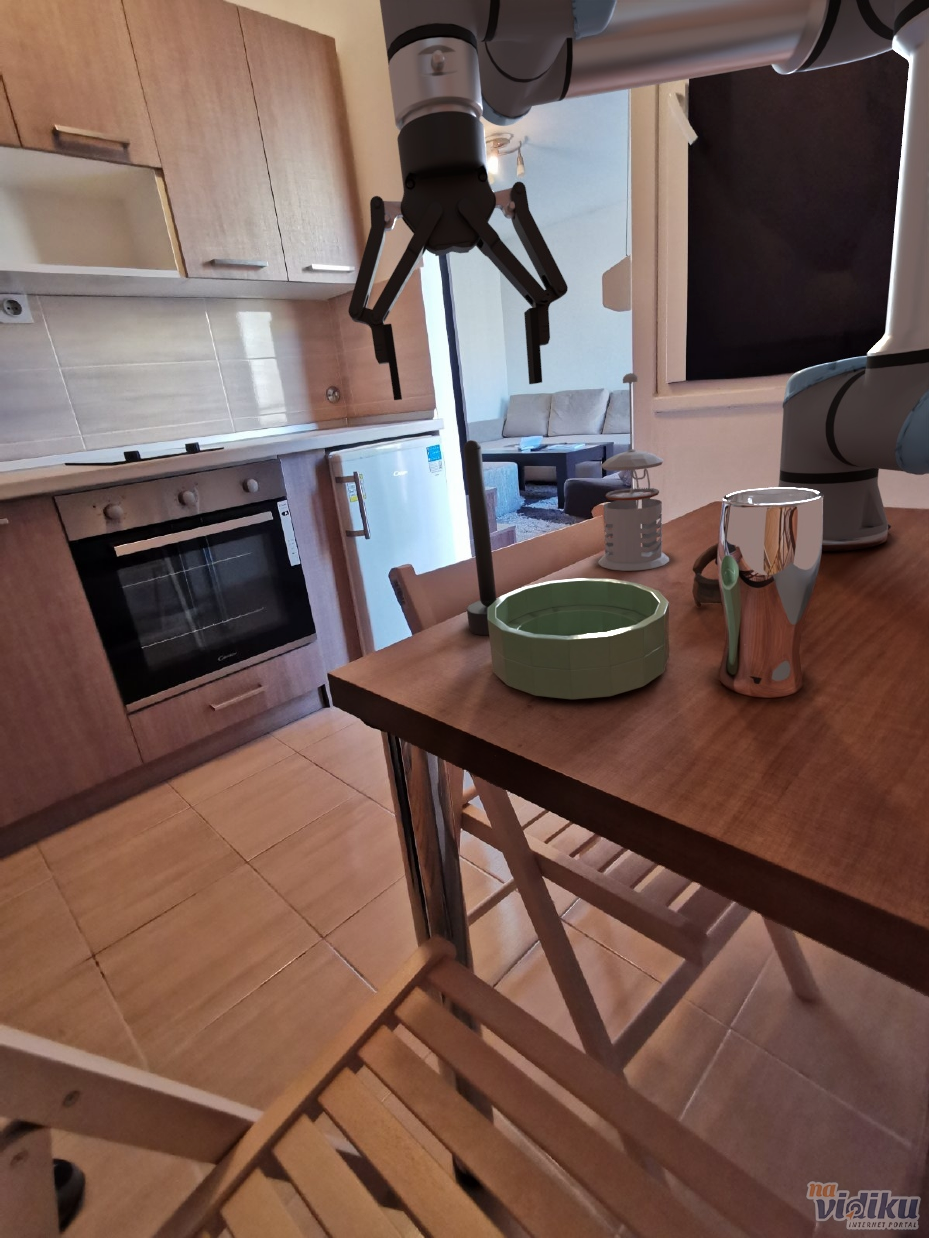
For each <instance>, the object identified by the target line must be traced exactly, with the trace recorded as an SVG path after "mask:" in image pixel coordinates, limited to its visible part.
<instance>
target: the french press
mask: <svg viewBox="0 0 929 1238" xmlns="http://www.w3.org/2000/svg"><path fill="white" fill-rule="evenodd" d="M633 383H638V375H637V374H636V373H634V372H629V373H626V374H625V375H624V376H623V378H622V384H628V387H629V391H628V394H629V434H630V435H629V442H630V443H629V444H630V446H629V447H630V448H629V449H628V450H627V451H623V452H621V453H617V454H615V455H612V456H611V457H609V458H607V459H606V460H605V461H604V462H603V463H602V464H601V465H600V467H601V468H602V469H603V470H605V471H612V472H621V471H626V472H627V471H630V488H620V489H615V490H613V491H612V490H611V491H608V492H607V493H606V494H605V498H606V499H608V500H611V501H610V502H607V503H605V504H603V525H604V527H603V528H604V531H603V532H604V533H605V534H604V541H605V542H604V555H602V556H601V558H600V559H599V560H598V563H597V564H598V565H599V566H601V567H602V568H605V569H608V570H613V571H622V572H623V571H624V572H625V571H626V572H627V571H628V572H629V571H630V572H631V571H645V570H652V569H656V568H660V567H663V566H665V565H666V564H668V563H669V562H670V558H669V556H668V555H666V554H665V553H664V552H663V550H662V549H663V523H662V521H663V512H662V511H663V501H661V500H659V499H655V498H654V497H657V496H658V495H659V494H660V489H657V488H654V487H652V488H651V481H650V475H649V470H648V469H651V468H656V467H657V468H658V467H659V466H661V465H662V464H663V462H664V459H663V458H661V457H660V456H658V455H657V454H654V453H651V452H648V451H643V450H636V449H634V448H633V425H632V423H633V422H632V420H633V419H632V384H633ZM637 470H643V475H642V476H640V477H638V474H637ZM645 477H646V478H647V484H648V485H647V487H643V488H641V487H639V480H644V479H645ZM633 480H635V482H636V487H633V485H634V483H633ZM639 501H641V508H639ZM605 524H606V525H605Z"/></svg>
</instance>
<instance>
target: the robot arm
mask: <svg viewBox="0 0 929 1238" xmlns="http://www.w3.org/2000/svg"><path fill="white" fill-rule="evenodd" d="M379 4H380V5H379V6H380V13H381V20H382V27H383V28H382V29H383V35H384V42H385V49H386V57H387V64H388V76H389V84H390V93H391V100H392V108H393V116H394V124H395V127H396V129H397V130H398V131H399V133H398V135H397V139H396V140H397V149H398V156H399V165H400V172H401V173H400V174H401V180H402V189H403V195H402V199H401V201H395V200H384V199H383V198H382V197H381V196H379V195H374V196H373V197H371V199H370V201H369V210H370V211H369V212H370V229H369V232H368V236H367V240H366V243H365V247H364V251H363V255H362V258H361V262H360V265H359V269H358V273H357V277H356V280H355V284H354V287H353V291H352V295H351V298H350V302H349V306H348V315H349V317H350V319H351V320H352V321H353V322H355V323H360V324H363V325H366V326H368V327H369V328H370V330H371V337H372V343H373V349H374V356H375V360H376V362H377V363H378V365H385V364H386V365H387V364H388V368H389V376H390V381H391V388H392V395H393V400H394V401H401V400H402V401H403V397H402V396H403V395H402V390H401V382H400V374H399V367H398V360H397V353H396V345H395V338H394V332H393V331H394V330H393V325H392V323H385V322H386V320H387V318H388V316H389V314H391V311H392V309H393V308H394V306H395V304H396V303H397V301H398V299H399V297H400V296H401V294H402V292H403V290H404V289H405V287H406V285H407V283H408V281H409V279H410V278H411V276H412V275H413V273H414V271H415V269H416V268H417V266H418V264H419V263H420V262H421V260H422V258H423V256H424V255H425V253H426V251H427V252H429V253H430V254H432V255H434V256H435V257H440V256H445V255H447V254H450V253H456V254H467V253H470V251H472V250H474V249H475V247H477V249H478V250H479V251H480V252H481V254H482V255H484V256H485V257H487V258H488V259H489V261H491V263H492V264H493V265H494V267H496V268H497V269H498V270H499V272H500V273H501V274H502V275H503V276H504V278H505V279H506V280H507V281H508V282H509V283H510V284H511V285H512V286H513V287H514V289H515V290H516V291H517V292H518V293H519V294H520V295H521V296H522V297H523V299H524V300H525V301H526V302H527V303H528V304H529V305H530V307H529V308H527V310H525V311H524V312H523V315H524V328H525V329H524V330H525V331H524V332H525V343H526V357H527V370H528V371H527V373H528V385H536V384H542V383H543V370H542V355H541V347H542V346H546V345H549V343H550V340H551V331H550V313H549V312H550V311H549V309H550V305H552V303H554V302H555V301H557V300H560V299H561V298H562V297H564V296H565V295H566V294H567V292H568V289H569V287H568V284H567V281H566V280H565V278H564V275H563V274H562V272H561V270H560V268H559V266H558V264H557V262H556V260H555V259H554V256H553V254H552V252H551V250H550V248H549V246H548V244H547V243H546V240H545V239H544V236H543V235H542V232H541V230H540V229H539V226H538V224H537V223H536V221H535V219H534V217H533V214H532V212H531V211H530V205H529V200H528V199H529V198H528V193H527V189H526V188H527V187H526V185H525V184H524V183H523V182H522V181H516V182H515V183H514V184H513V185H512V187H510V188H506V189H501V190H497V191H494V190H493V188H492V186H491V184H490V180H489V171H488V170H489V169H488V157H487V146H486V144H487V143H486V133H485V126H484V123H483V122H482V121H481V119H482V118H483V119H484V120H486V121H487V122H489V123H490V124H492V125H495V126H499V127H508V126H512V125H514V124H516V123H518V122H519V121H520V120H522V119H523V118H524V117H525V116H527V115H528V114H529V113H530V112H531V110H532V108H533V107H537V106H541V105H547V104H551V103H557V102H563V101H569V100H573V99H579V98H585V97H591V96H597V95H602V94H603V95H604V94H609V93H615V92H620V91H626V90H632V89H638V88H643V87H644V88H645V87H648V86H655V85H660V84H668V83H673V82H678V81H685V80H690V79H694V78H696V79H697V78H701V77H707V76H714V75H719V74H726V73H731V72H737V71H742V70H747V69H754V68H759V67H765V66H772V67H771V68H772V69H774V71H775V72H777V73H778V74H780V75H790V74H795V73H801V72H807V71H814V70H819V69H824V68H829V67H834V66H839V65H844V64H849V63H853V62H857V61H861V60H865V59H868V58H872V57H875V56H878V55H881V54H884V53H886V52H889V51H892V50H893V51H895V52H896V53H898V55H900V56H901V57H903V58H905V59H906V60H907V61H908V64H909V66H908V67H909V68H908V77H907V79H908V80H907V88H906V98H905V110H904V120H903V132H902V133H903V134H902V143H901V145H902V146H901V155H900V156H901V157H900V166H899V179H898V186H897V187H898V188H897V199H896V210H895V221H894V230H893V231H894V233H893V242H892V243H893V244H892V254H891V265H890V274H889V275H890V276H889V286H888V287H889V288H888V297H887V308H886V309H887V310H886V318H885V319H886V320H885V331H884V334H883V336H882V337H881V339H880V340H878V342H876V343H875V345H873V347H871V349H869V351H868V352H866V355H862V356H856V357H850V358H845V359H844V358H843V359H840V360H836V361H832V362H826V363H822V364H817V365H813V366H809V367H807V368H803V369H801V370H799V371H796V372H795V373H793V374H792V375H791V376H790V377H789V379H788V380H787V382H786V384H785V385H786V386H785V393H784V397H783V401H782V405H781V407H782V409H783V411H782V428H781V446H780V461H779V478H778V485H777V488H801V489H810V490H816V491H819V492H821V493H823V495H824V497H823V541H822V552H842V551H843V552H845V551H853V550H855V551H856V550H862V549H868V548H873V547H876V546H879V545H881V544H883V543H886V541H887V539H888V532H889V530H890V529H891V528H892V525H891V524H889V523H888V519H887V514H886V511H885V510H886V509H885V507H884V503H883V499H882V494H881V491H880V488H879V472H880V470H886V471H895V472H904V473H906V474H911V475H915V476H923V475H928V474H929V0H379ZM495 209H499V210H500V211H501V212H502V214H503V216H504V217H505V219H508V220H510V219H511V220H510V221H511V223H512V226H513V229H514V231H515V233H516V235H517V236H518V238H519V241H520V242H521V245H522V246H523V248H524V250H525V252H526V254H527V256H528V258H529V260H530V262H531V264H532V265H533V267H534V270H535V272H536V273H537V275H538V277H539V279H540V281H541V283H542V285H541V284H540V283H539V282H538V281H537V280H536V278H535V277H534V276H533V275H532V274H531V273H530V271H529V270H528V269H527V268H526V267H525V266H524V265H523V264H522V262H521V261H520V260H519V259H518V258H517V256H516V255H515V254H514V253H513V252H512V250H510V248H509V247H508V246H507V245H506V244H505V242H503V240H502V239H501V237H500V235H499V234H498V232H497V231H496V230H495V229H494V228H493V227H492V225H491V224H490V223H489V221H490V219H491V218H492V215H493V214H494V211H495ZM398 219H402V221H403V222H404V224H405V225H406V226H407V227H408V229H409V230H410V231H411V232H412V237H411V239H410V240H409V242H408V244H407V246H406V248H405V250H404V252H403V254H402V255H401V257H400V259H399V261H398V263H397V265H396V266H395V268H394V270H393V272H392V274H391V276H390V277H389V278H388V281H387V282H386V284H385V286H384V288H383V290H382V291H381V293H380V295H379V296H378V299H377V300H376V302H375V303H374V306H373V307H372V308H369V307H368V303H369V299H370V296H371V292H372V288H373V286H374V281H375V278H376V276H377V275H376V274H377V270H378V267H379V263H380V260H381V256H382V254H383V250H384V246H385V241H386V233H387V232H391V231H393V229H394V228H395V224H396V221H397V220H398ZM542 286H543V287H542Z"/></svg>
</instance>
